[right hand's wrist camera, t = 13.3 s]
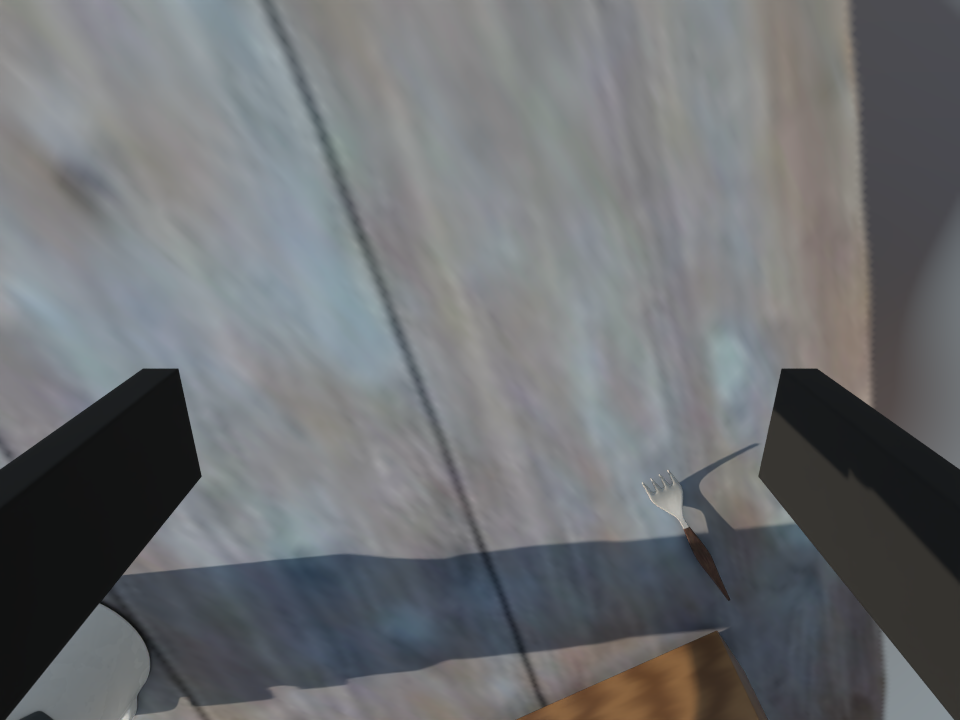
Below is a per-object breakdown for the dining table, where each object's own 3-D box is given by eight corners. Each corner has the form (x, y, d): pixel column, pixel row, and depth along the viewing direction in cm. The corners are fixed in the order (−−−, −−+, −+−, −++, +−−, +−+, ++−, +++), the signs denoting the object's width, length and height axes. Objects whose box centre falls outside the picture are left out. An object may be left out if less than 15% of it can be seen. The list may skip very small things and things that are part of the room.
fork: (712, 601, 50) (721, 620, 48) (633, 470, 45) (639, 484, 43) (740, 589, 49) (751, 607, 48) (663, 454, 44) (671, 469, 42)
